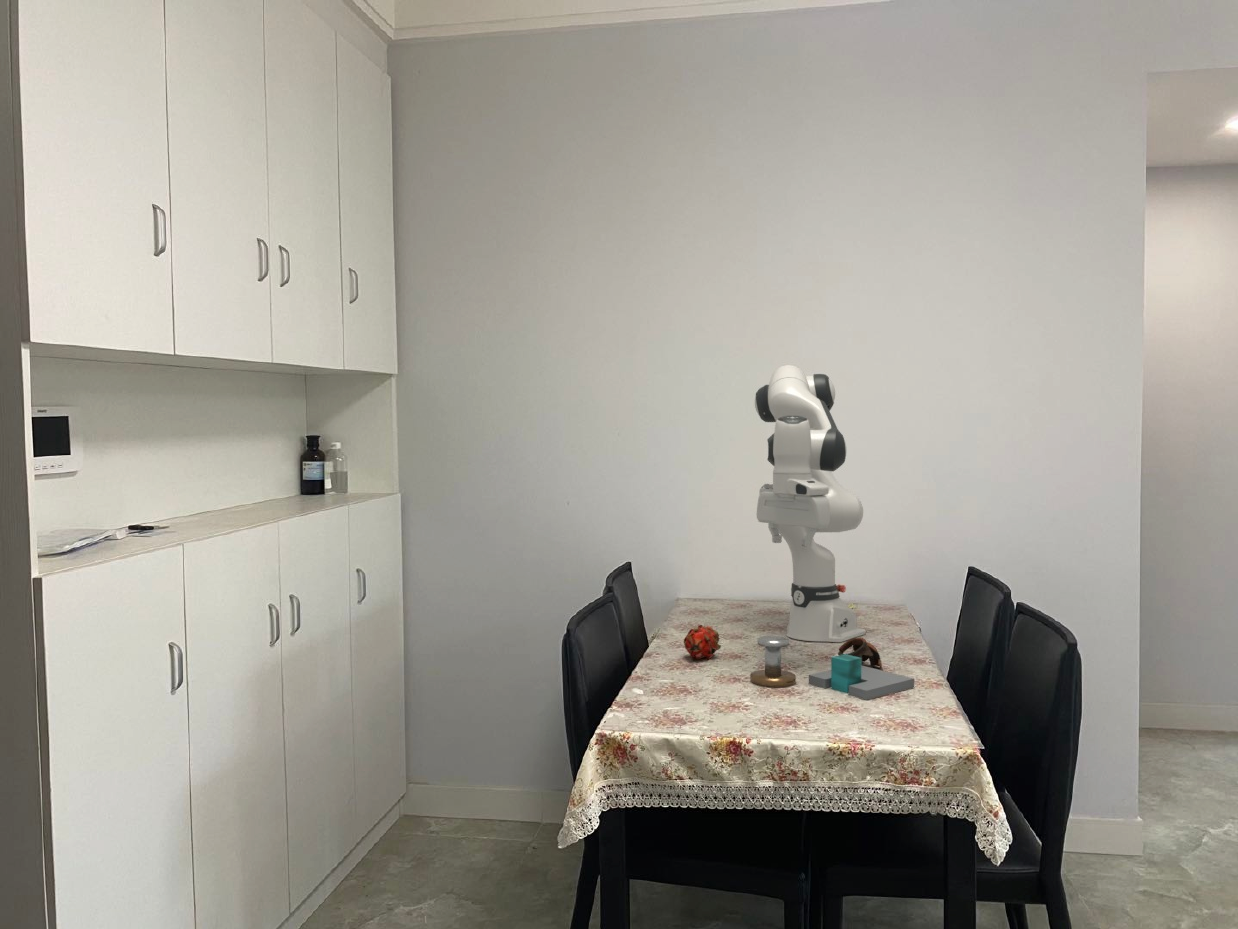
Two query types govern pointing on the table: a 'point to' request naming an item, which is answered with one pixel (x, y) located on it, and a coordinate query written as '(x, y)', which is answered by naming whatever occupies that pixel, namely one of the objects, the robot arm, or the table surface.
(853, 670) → the block
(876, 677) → the notched board
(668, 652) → the table surface
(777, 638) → the bobbin post
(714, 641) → the dragon fruit
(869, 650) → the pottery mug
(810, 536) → the robot arm
